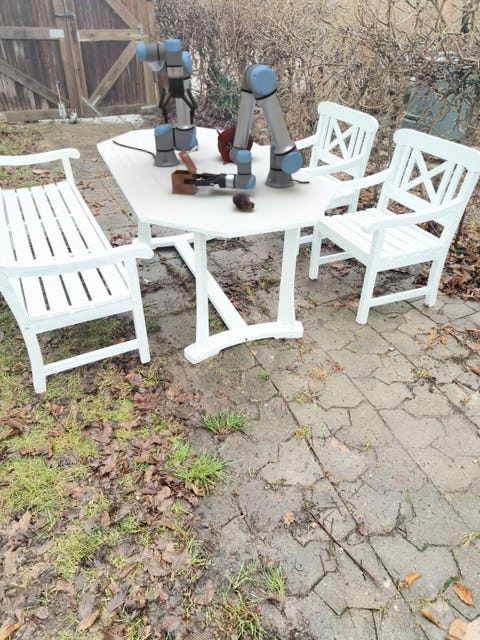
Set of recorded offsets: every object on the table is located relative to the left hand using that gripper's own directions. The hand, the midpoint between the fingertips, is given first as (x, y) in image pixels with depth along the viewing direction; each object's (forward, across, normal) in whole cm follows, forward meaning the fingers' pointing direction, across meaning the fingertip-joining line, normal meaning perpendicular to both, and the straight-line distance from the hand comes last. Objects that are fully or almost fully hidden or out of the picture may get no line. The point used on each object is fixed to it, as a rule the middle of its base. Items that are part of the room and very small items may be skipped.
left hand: (179, 123), depth 229 cm
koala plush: (+35, -28, +91) cm, 101 cm away
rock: (+35, +37, -21) cm, 55 cm away
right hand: (+28, +2, 0) cm, 28 cm away
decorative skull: (+35, +14, +69) cm, 78 cm away
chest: (+35, 0, 0) cm, 35 cm away
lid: (+19, +3, 0) cm, 19 cm away
